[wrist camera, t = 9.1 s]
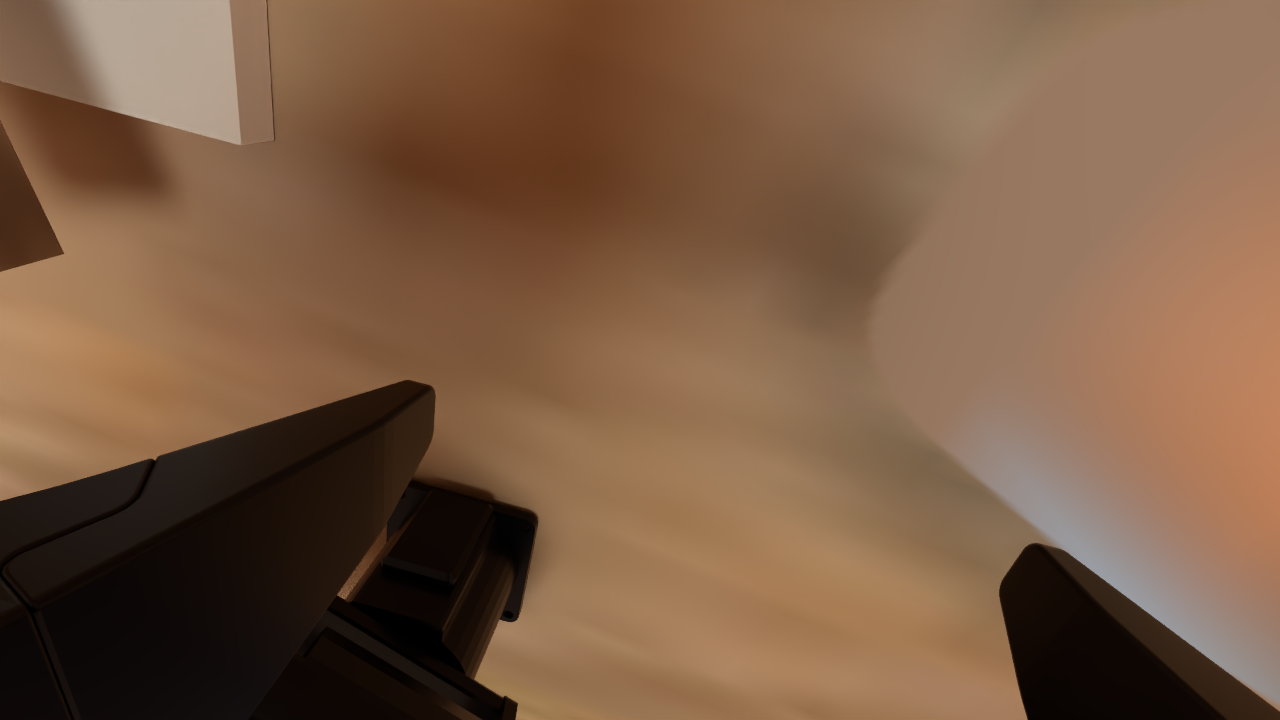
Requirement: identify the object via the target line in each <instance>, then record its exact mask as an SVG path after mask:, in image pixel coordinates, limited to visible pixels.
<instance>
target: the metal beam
mask: <svg viewBox="0 0 1280 720" xmlns="http://www.w3.org/2000/svg"><path fill="white" fill-rule="evenodd" d="M62 254H64V252H63V250H62V248H61V246H60V244H59V242H58V240H57V238H56V236H55V233H54V231H53V229H52V227H51V225H50V223H49V221H48V219H47V217H46V215H45V213H44V211H43V208H42V206H41V204H40V202H39V200H38V198H37V196H36V194H35V192H34V190H33V188H32V186H31V183H30V181H29V179H28V177H27V175H26V173H25V171H24V169H23V167H22V165H21V163H20V161H19V158H18V156H17V154H16V152H15V150H14V148H13V146H12V144H11V142H10V140H9V138H8V136H7V133H6V131H5V129H4V127H3V125H2V123H1V121H0V272H1V271H4V270H8V269H12V268H15V267H19V266H22V265H26V264H30V263H33V262H37V261H40V260H44V259H48V258H51V257H55V256H58V255H62Z"/></svg>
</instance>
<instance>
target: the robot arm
mask: <svg viewBox="0 0 1280 720" xmlns="http://www.w3.org/2000/svg"><path fill="white" fill-rule="evenodd" d="M434 414H435V390H434V388H433V387H432V386H430V385H427V384H423V383H419V382H415V381H411V380H404V381H401V382H398V383H395V384H391V385H388V386H385V387H382V388H378V389H375V390H372V391H369V392H365V393H362V394H359V395H356V396H352V397H349V398H346V399H343V400H339V401H336V402H333V403H330V404H326V405H323V406H320V407H317V408H313V409H310V410H307V411H304V412H300V413H297V414H294V415H291V416H287V417H284V418H281V419H277V420H274V421H271V422H268V423H264V424H261V425H258V426H255V427H251V428H248V429H245V430H242V431H238V432H235V433H232V434H229V435H225V436H222V437H219V438H216V439H212V440H209V441H206V442H203V443H199V444H196V445H193V446H190V447H186V448H183V449H180V450H177V451H173V452H170V453H167V454H164V455H160V456H158V457H157V459H156V460H154V459H147V460H144V461H140V462H137V463H134V464H131V465H128V466H124V467H121V468H118V469H115V470H111V471H108V472H104V473H101V474H98V475H94V476H91V477H87V478H84V479H80V480H77V481H74V482H70V483H67V484H63V485H60V486H56V487H52V488H49V489H45V490H41V491H37V492H33V493H30V494H26V495H22V496H18V497H14V498H11V499H7V500H3V501H0V720H515V718H516V712H517V706H518V703H516V702H515V701H513V700H511V699H510V698H508V697H507V696H504V697H501V696H500V695H498V694H497V693H495V692H493V691H492V690H490V689H488V688H487V687H485V686H484V685H482V684H480V683H479V682H477V681H475V680H474V678H475V676H476V674H477V671H478V669H479V667H480V664H481V662H482V659H483V657H484V655H485V652H486V650H487V648H488V645H489V643H490V640H491V638H492V636H493V633H494V631H495V629H496V626H497V624H498V621H499V620H503V621H507V622H514V621H516V620H517V619H518V617H519V614H520V612H521V608H522V603H523V598H524V593H525V588H526V583H527V578H528V573H529V568H530V563H531V558H532V553H533V548H534V543H535V538H536V533H537V527H538V521H537V519H536V518H535V517H534V516H533V515H531V514H529V513H526V512H522V511H519V510H515V509H512V508H508V507H504V506H501V505H497V504H494V503H490V502H486V501H483V500H479V499H476V498H472V497H468V496H465V495H461V494H458V493H454V492H450V491H447V490H443V489H440V488H436V487H433V486H429V485H425V484H422V483H418V482H415V481H411V478H412V477H413V475H414V473H415V471H416V469H417V467H418V466H419V464H420V462H421V460H422V458H423V457H424V455H425V453H426V451H427V449H428V447H429V445H430V443H431V440H432V436H433V430H434ZM386 523H387V543H386V544H385V546H384V547H383V548H382V550H381V551H380V553H379V554H378V555H377V557H376V558H375V559H374V561H373V562H372V564H371V565H370V566H369V568H368V569H367V570H366V572H365V573H364V575H363V576H362V577H361V579H360V580H359V581H358V583H357V584H356V586H355V587H354V588H353V590H352V591H351V592H350V594H349V595H348V597H347V598H346V599H345V600H344V599H342V598H341V597H339V596H337V594H338V593H339V591H340V590H341V588H342V587H343V585H344V584H345V583H346V581H347V580H348V578H349V577H350V576H351V574H352V573H353V571H354V570H355V569H356V567H357V566H358V564H359V563H360V562H361V560H362V559H363V557H364V556H365V555H366V553H367V552H368V550H369V549H370V548H371V546H372V545H373V543H374V542H375V540H376V539H377V537H378V536H379V534H380V533H381V531H382V530H383V528H384V527H385V525H386ZM523 524H526V525H528V526H524V525H523ZM999 597H1000V603H1001V607H1002V612H1003V617H1004V621H1005V626H1006V631H1007V635H1008V640H1009V645H1010V649H1011V654H1012V659H1013V663H1014V668H1015V672H1016V677H1017V682H1018V686H1019V690H1020V694H1021V698H1022V702H1023V705H1024V709H1025V712H1026V716H1027V719H1028V720H1280V711H1278V710H1277V709H1276V708H1274V707H1273V706H1272V705H1270V704H1269V703H1268V702H1266V701H1265V700H1264V699H1262V698H1261V697H1260V696H1258V695H1257V694H1256V693H1254V692H1253V691H1252V690H1250V689H1249V688H1248V687H1246V686H1245V685H1244V684H1242V683H1241V682H1240V681H1238V680H1237V679H1236V678H1234V677H1233V676H1232V675H1230V674H1229V673H1228V672H1226V671H1225V670H1224V669H1222V668H1221V667H1219V666H1218V665H1217V664H1215V663H1214V662H1213V661H1211V660H1210V659H1209V658H1207V657H1206V656H1205V655H1203V654H1202V653H1201V652H1199V651H1198V650H1197V649H1195V648H1194V647H1193V646H1191V645H1190V644H1189V643H1187V642H1186V641H1185V640H1183V639H1182V638H1181V637H1179V636H1178V635H1176V634H1175V633H1174V632H1173V631H1171V630H1170V629H1169V628H1167V627H1166V626H1165V625H1163V624H1162V623H1161V622H1159V621H1158V620H1157V619H1155V618H1154V617H1153V616H1151V615H1150V614H1149V613H1147V612H1146V611H1144V610H1143V609H1142V608H1141V607H1139V606H1138V605H1137V604H1135V603H1134V602H1133V601H1131V600H1130V599H1129V598H1127V597H1126V596H1125V595H1123V594H1122V593H1121V592H1119V591H1118V590H1117V589H1115V588H1114V587H1113V586H1111V585H1110V584H1109V583H1107V582H1106V581H1105V580H1103V579H1102V578H1100V577H1099V576H1098V575H1097V574H1095V573H1094V572H1093V571H1091V570H1090V569H1089V568H1087V567H1086V566H1085V565H1083V564H1082V563H1081V562H1079V561H1078V560H1077V559H1075V558H1074V557H1073V556H1071V555H1070V554H1069V553H1067V552H1066V551H1064V550H1061V549H1059V548H1055V547H1051V546H1047V545H1043V544H1039V543H1032V544H1029V545H1028V546H1026V547H1025V548H1024V549H1023V551H1022V552H1021V554H1020V555H1019V557H1018V558H1017V559H1016V561H1015V562H1014V564H1013V565H1012V567H1011V568H1010V569H1009V571H1008V572H1007V574H1006V575H1005V577H1004V578H1003V580H1002V582H1001V585H1000V590H999Z"/></svg>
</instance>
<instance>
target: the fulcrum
mask: <svg viewBox="0 0 1280 720" xmlns="http://www.w3.org/2000/svg"><path fill="white" fill-rule="evenodd" d="M0 81H2V82H5V83H9V84H13V85H17V86H20V87H24V88H28V89H31V90H35V91H39V92H43V93H46V94H50V95H54V96H58V97H61V98H65V99H69V100H73V101H76V102H80V103H84V104H88V105H91V106H95V107H99V108H102V109H106V110H110V111H114V112H117V113H121V114H125V115H129V116H132V117H136V118H140V119H144V120H147V121H151V122H155V123H159V124H162V125H166V126H170V127H173V128H177V129H181V130H185V131H188V132H192V133H196V134H200V135H203V136H207V137H211V138H215V139H218V140H222V141H226V142H229V143H233V144H237V145H241V146H242V145H249V144H255V143H261V142H267V141H274V128H273V111H272V93H271V75H270V57H269V39H268V21H267V3H266V0H0Z"/></svg>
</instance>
